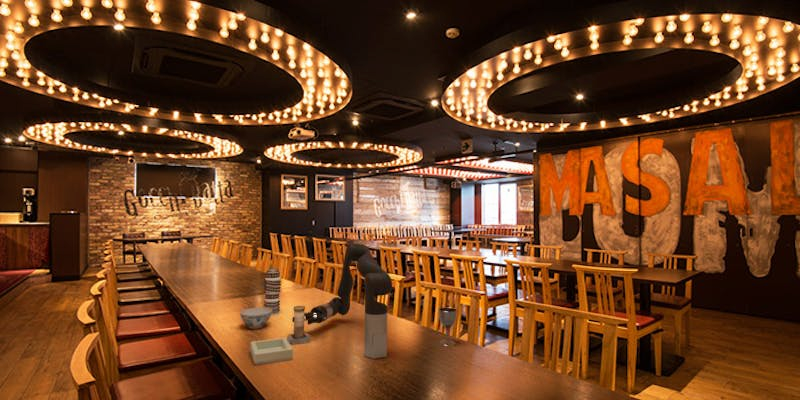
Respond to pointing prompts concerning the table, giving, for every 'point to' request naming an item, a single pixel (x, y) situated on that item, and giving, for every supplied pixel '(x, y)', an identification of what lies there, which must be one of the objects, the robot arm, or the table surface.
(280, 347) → the tray
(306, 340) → the stop collar
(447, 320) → the wine glass
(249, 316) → the chinaware
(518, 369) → the table surface
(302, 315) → the stop peg
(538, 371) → the table surface
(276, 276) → the decorative candle
